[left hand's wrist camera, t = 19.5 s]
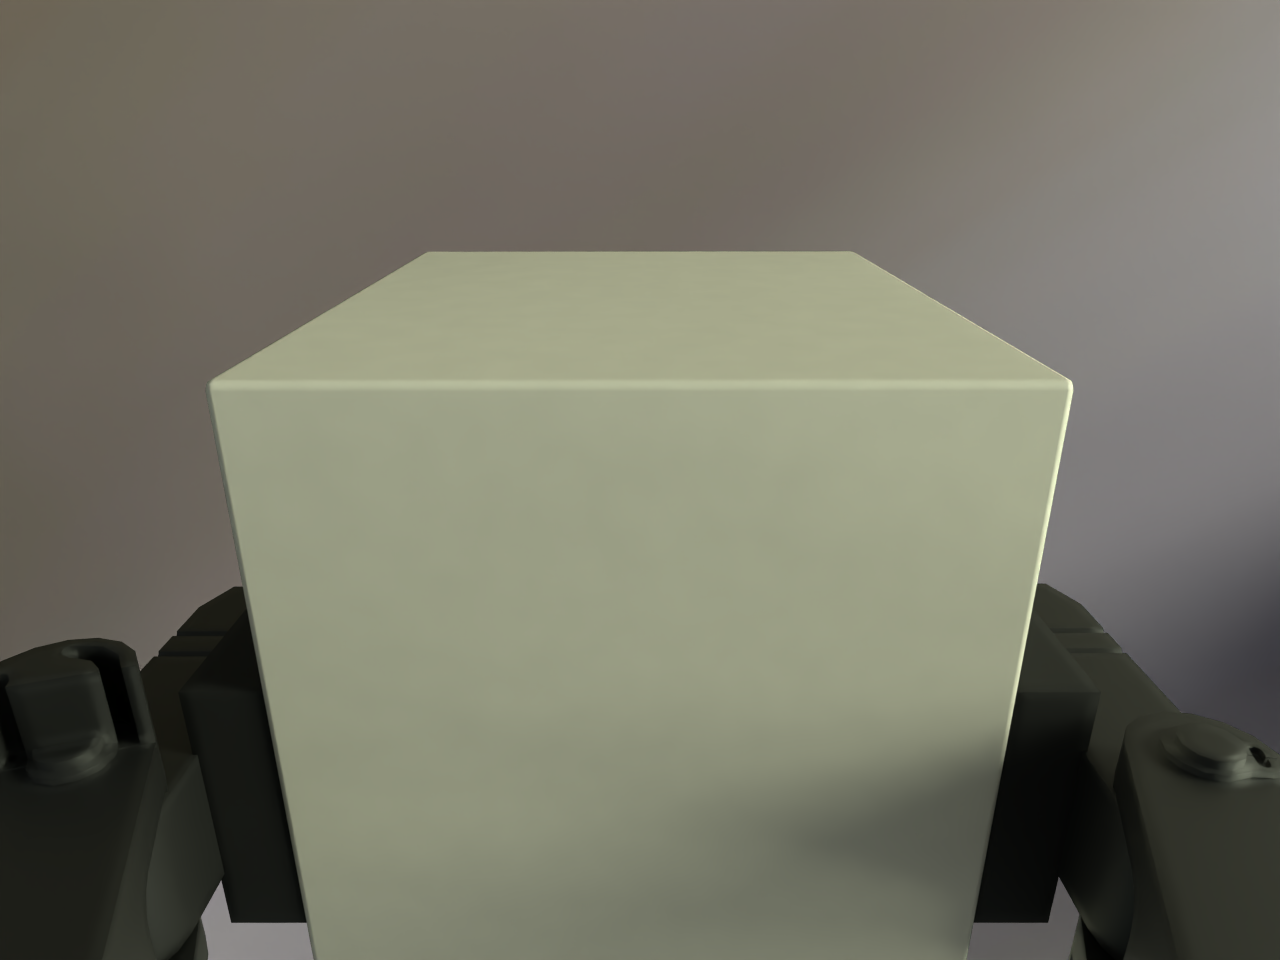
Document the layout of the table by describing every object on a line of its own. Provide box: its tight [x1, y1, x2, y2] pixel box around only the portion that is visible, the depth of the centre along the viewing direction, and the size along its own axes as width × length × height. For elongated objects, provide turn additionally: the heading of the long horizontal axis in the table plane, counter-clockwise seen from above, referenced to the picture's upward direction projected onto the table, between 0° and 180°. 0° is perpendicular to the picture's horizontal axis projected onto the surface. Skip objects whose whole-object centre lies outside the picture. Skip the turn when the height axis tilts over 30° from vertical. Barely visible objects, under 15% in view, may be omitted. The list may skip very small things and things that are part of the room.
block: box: [206, 251, 1073, 960], centre depth 12 cm, size 7×8×7 cm
